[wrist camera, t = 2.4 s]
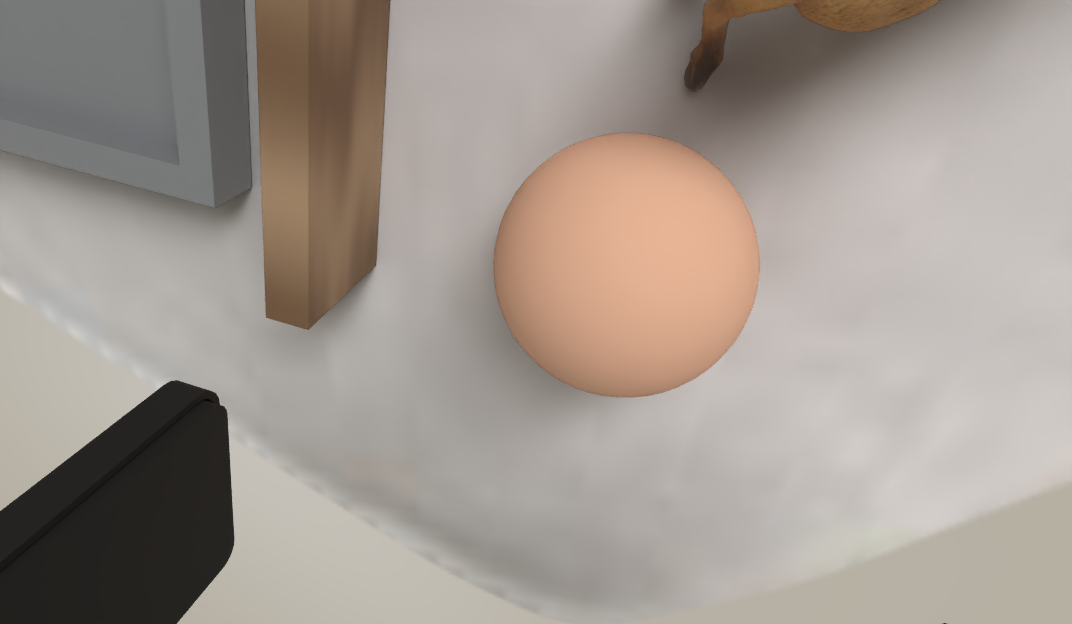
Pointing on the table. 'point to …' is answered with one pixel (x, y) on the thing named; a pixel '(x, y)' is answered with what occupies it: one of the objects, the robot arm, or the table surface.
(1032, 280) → the table surface
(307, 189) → the walnut wall
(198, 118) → the slate dish
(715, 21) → the lion figurine
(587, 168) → the ball
